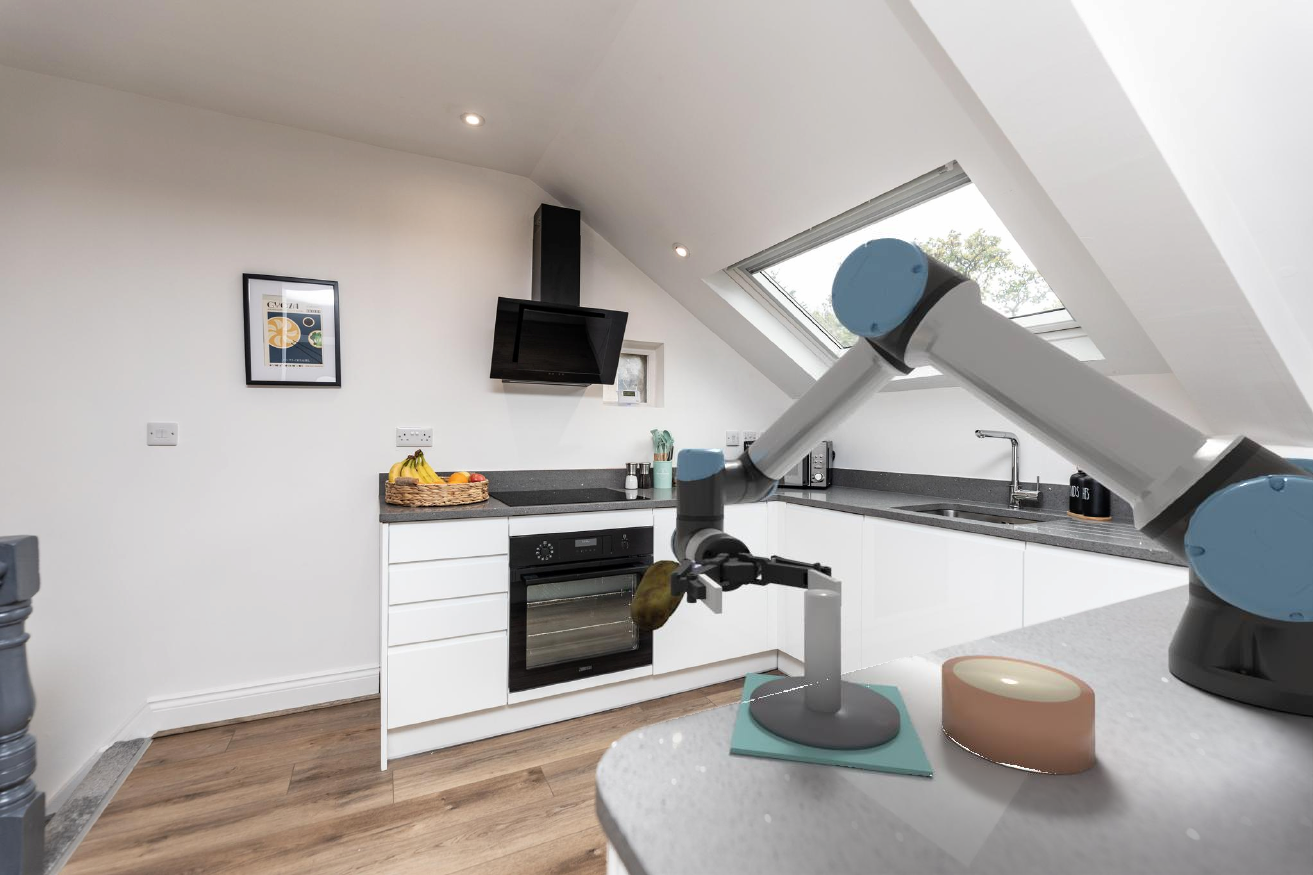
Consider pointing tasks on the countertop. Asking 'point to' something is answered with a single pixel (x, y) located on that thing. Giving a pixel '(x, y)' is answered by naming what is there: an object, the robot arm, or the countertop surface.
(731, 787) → the countertop surface
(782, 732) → the lid
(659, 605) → the potato
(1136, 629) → the countertop surface
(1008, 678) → the orange bowl
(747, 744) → the mat
